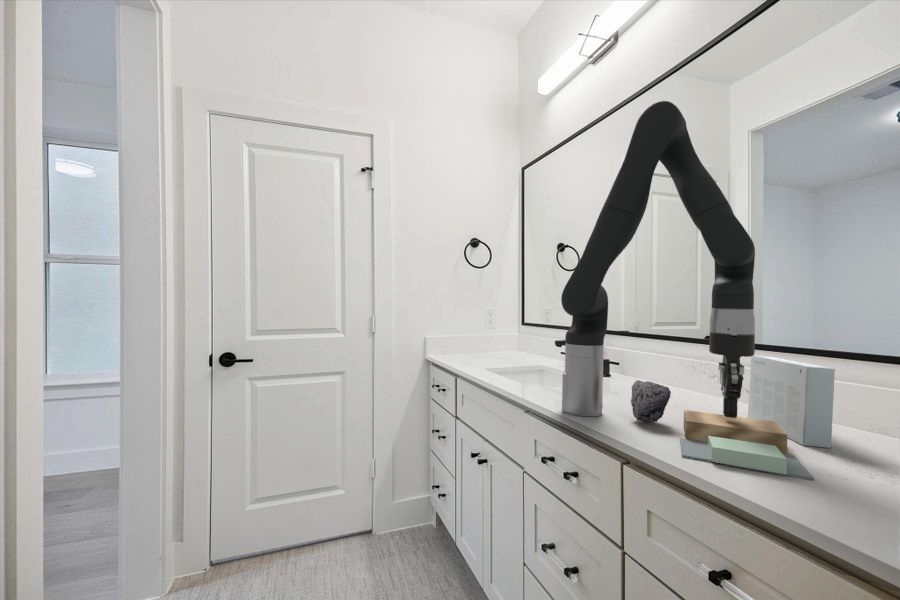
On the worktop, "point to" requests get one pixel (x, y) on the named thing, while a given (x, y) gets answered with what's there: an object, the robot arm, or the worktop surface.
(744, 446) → the soap bar
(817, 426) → the skincare box
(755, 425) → the light wood block
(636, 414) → the pumice stone
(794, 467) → the mat
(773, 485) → the worktop surface
